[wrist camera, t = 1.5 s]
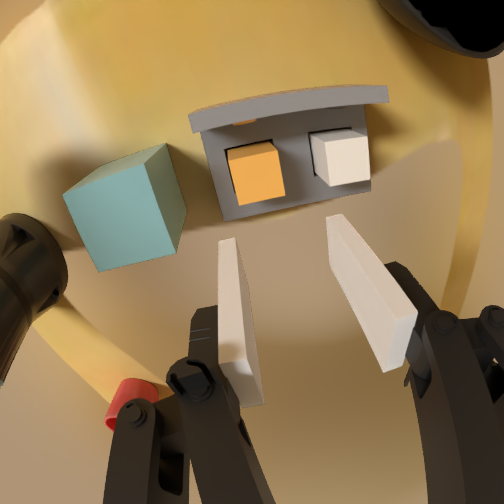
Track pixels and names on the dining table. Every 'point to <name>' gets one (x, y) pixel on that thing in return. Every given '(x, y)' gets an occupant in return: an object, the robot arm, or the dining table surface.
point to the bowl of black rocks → (454, 23)
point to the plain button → (340, 156)
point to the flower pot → (129, 397)
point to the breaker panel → (283, 140)
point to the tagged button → (256, 172)
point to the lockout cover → (129, 209)
